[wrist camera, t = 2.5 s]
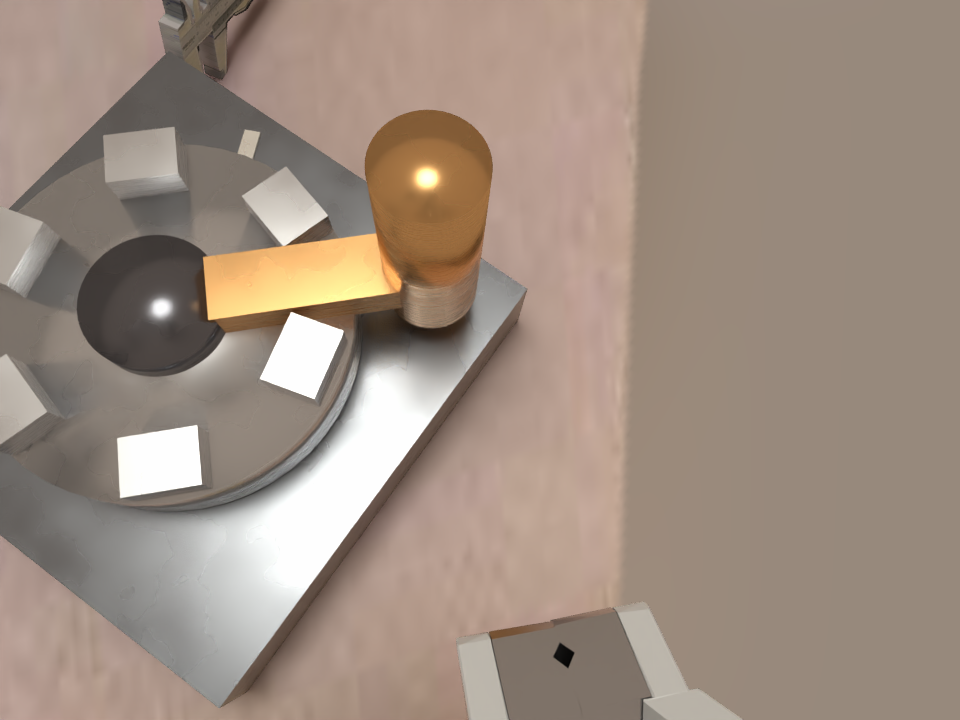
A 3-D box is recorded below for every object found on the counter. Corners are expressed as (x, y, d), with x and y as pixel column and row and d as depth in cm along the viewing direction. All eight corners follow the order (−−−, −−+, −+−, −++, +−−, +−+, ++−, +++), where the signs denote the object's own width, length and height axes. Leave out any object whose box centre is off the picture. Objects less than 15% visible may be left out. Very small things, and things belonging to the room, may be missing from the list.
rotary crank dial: (9, 541, 28) (-245, 520, 17) (7, 205, 31) (-203, 25, 21) (504, 457, 29) (540, 393, 19) (447, 150, 33) (450, -41, 23)
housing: (246, 691, 30) (218, 708, 27) (-107, 414, 33) (-182, 392, 29) (517, 319, 36) (527, 287, 32) (196, 103, 38) (168, 48, 34)
